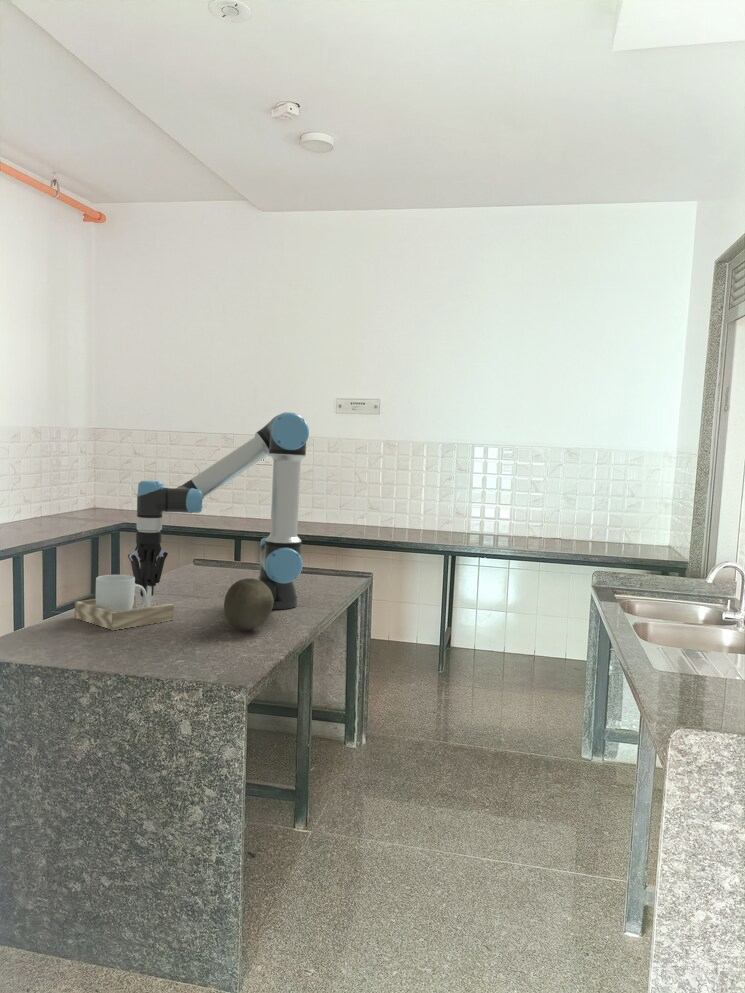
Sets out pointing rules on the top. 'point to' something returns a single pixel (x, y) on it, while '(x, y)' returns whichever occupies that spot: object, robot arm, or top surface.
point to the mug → (117, 592)
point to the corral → (122, 615)
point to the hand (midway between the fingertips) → (146, 606)
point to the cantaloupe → (248, 604)
